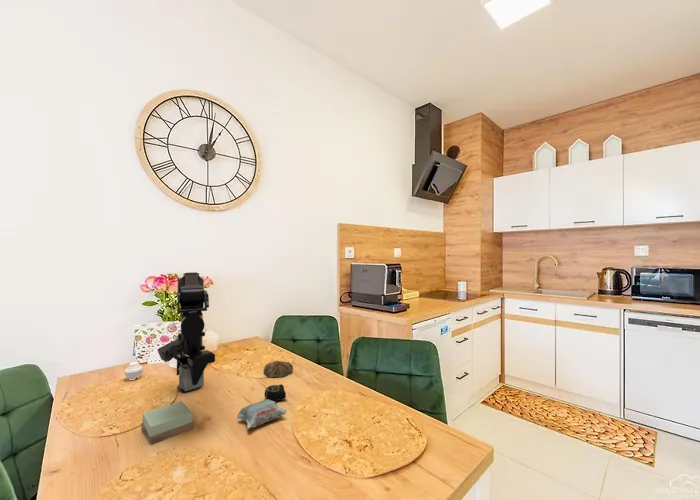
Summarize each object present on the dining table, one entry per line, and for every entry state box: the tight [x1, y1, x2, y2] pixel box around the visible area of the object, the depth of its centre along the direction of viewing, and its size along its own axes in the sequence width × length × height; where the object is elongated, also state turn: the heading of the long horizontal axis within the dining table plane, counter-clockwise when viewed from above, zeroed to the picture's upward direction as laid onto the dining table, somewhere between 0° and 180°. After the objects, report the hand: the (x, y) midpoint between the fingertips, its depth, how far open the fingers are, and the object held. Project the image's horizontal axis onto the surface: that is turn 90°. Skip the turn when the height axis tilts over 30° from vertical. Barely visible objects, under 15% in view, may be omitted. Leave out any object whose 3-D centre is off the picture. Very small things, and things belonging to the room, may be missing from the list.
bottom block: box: [140, 420, 194, 445], centre depth 84 cm, size 10×10×2 cm
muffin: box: [123, 360, 144, 380], centre depth 119 cm, size 6×6×7 cm
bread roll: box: [263, 360, 294, 379], centre depth 126 cm, size 13×12×5 cm
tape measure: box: [264, 383, 287, 402], centre depth 102 cm, size 7×7×4 cm
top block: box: [141, 400, 193, 437], centre depth 84 cm, size 10×10×2 cm
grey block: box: [178, 365, 205, 391], centre depth 88 cm, size 5×5×6 cm
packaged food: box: [236, 399, 288, 430], centre depth 88 cm, size 9×12×5 cm
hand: (191, 382), depth 88 cm, fingers closed on grey block, 5 cm apart
